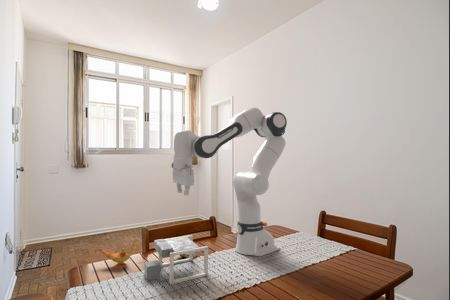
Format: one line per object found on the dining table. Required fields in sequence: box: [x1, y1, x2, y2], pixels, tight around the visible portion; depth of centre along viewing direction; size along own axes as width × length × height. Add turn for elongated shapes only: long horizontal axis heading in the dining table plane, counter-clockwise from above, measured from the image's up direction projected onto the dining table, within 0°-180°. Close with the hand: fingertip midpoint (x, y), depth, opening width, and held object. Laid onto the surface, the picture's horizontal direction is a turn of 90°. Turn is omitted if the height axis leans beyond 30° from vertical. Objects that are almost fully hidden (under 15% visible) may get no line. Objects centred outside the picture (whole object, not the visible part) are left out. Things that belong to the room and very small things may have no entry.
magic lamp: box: [96, 240, 139, 269], centre depth 108 cm, size 7×18×11 cm, turn 88°
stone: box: [143, 259, 161, 281], centre depth 98 cm, size 5×5×5 cm
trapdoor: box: [153, 237, 200, 259], centre depth 102 cm, size 14×14×3 cm
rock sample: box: [179, 252, 197, 259], centre depth 118 cm, size 10×8×9 cm
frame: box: [158, 234, 209, 285], centre depth 103 cm, size 15×18×11 cm
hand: (182, 193), depth 119 cm, fingers open, 8 cm apart
